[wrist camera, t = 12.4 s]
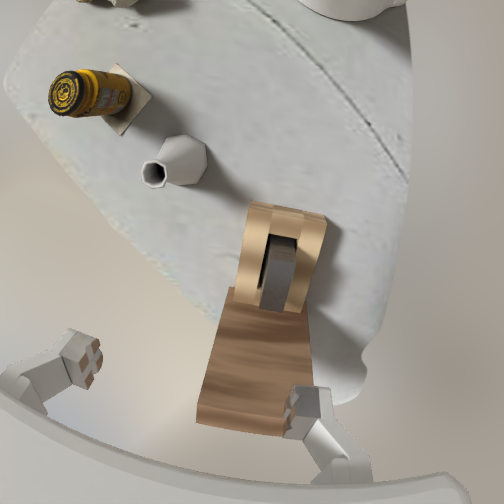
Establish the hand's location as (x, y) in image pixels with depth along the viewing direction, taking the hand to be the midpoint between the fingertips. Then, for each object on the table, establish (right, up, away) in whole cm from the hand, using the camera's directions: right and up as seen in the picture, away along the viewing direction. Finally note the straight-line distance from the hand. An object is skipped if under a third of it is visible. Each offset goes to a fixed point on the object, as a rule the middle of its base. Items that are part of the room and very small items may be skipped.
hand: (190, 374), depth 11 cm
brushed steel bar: (+6, +5, +32) cm, 33 cm away
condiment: (-16, +26, +24) cm, 39 cm away
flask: (-7, +17, +27) cm, 33 cm away
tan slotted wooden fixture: (+6, +3, +33) cm, 33 cm away
